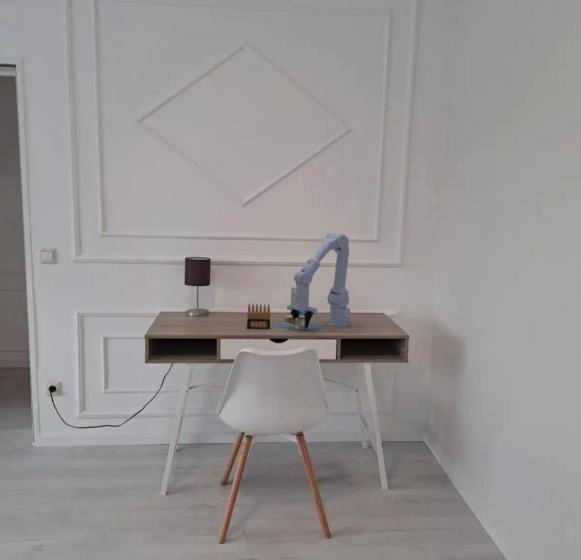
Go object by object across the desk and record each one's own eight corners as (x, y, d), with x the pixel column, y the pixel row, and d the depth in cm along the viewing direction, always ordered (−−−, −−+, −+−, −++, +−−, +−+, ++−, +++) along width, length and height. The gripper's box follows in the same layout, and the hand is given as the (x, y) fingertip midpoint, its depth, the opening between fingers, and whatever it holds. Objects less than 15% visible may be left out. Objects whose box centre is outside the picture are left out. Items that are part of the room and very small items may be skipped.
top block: (308, 328, 240) (308, 317, 239) (303, 330, 236) (304, 319, 235) (299, 327, 242) (299, 316, 241) (295, 329, 238) (295, 318, 237)
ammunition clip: (246, 329, 236) (247, 303, 235) (246, 328, 238) (247, 303, 236) (270, 330, 237) (270, 304, 235) (270, 329, 238) (270, 303, 237)
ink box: (307, 316, 268) (308, 288, 266) (300, 317, 265) (301, 289, 263) (297, 313, 275) (298, 286, 273) (290, 314, 272) (290, 286, 270)
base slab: (306, 322, 253) (306, 316, 252) (299, 325, 246) (299, 319, 245) (291, 320, 256) (292, 314, 256) (284, 323, 249) (284, 317, 249)
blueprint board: (324, 325, 250) (324, 323, 250) (308, 332, 234) (308, 331, 234) (287, 320, 259) (287, 318, 258) (269, 327, 243) (269, 325, 243)
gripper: (284, 297, 236) (283, 326, 238) (313, 300, 230) (312, 330, 232) (291, 295, 242) (290, 323, 244) (319, 298, 236) (318, 327, 238)
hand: (301, 326), depth 238 cm, fingers closed on top block, 4 cm apart
